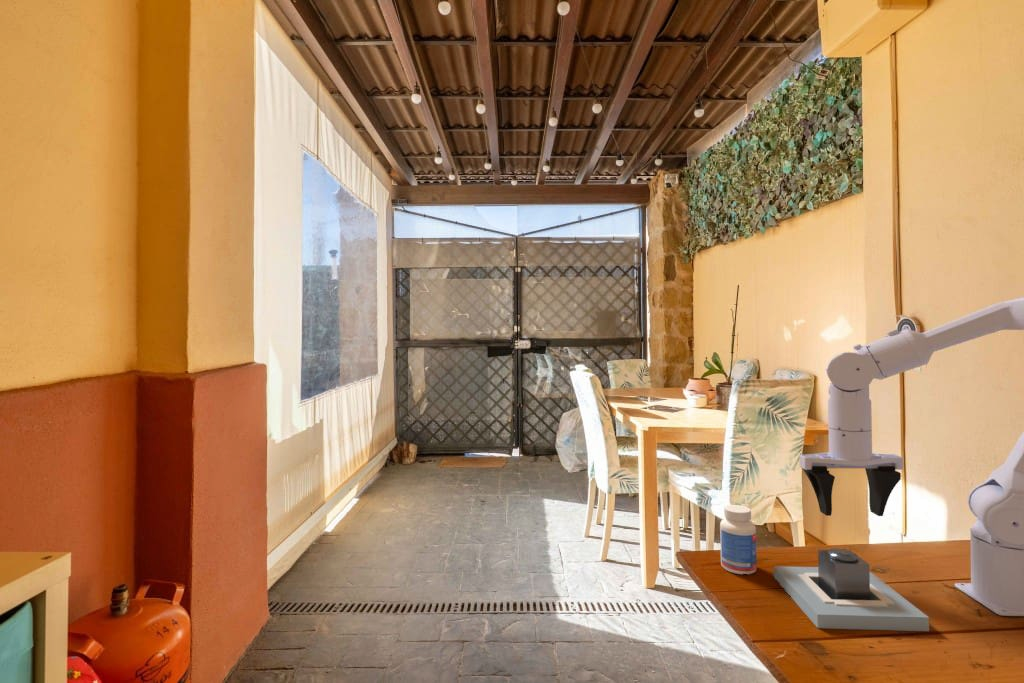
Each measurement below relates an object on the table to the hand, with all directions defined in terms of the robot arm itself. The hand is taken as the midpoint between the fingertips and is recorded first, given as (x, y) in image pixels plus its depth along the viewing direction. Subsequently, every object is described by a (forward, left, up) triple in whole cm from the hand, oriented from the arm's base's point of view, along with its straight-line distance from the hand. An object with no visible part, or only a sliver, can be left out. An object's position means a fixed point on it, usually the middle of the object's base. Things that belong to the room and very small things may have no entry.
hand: (851, 513), depth 80 cm
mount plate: (+6, +9, -9) cm, 14 cm away
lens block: (+6, +9, -10) cm, 14 cm away
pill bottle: (+17, -1, -10) cm, 20 cm away
